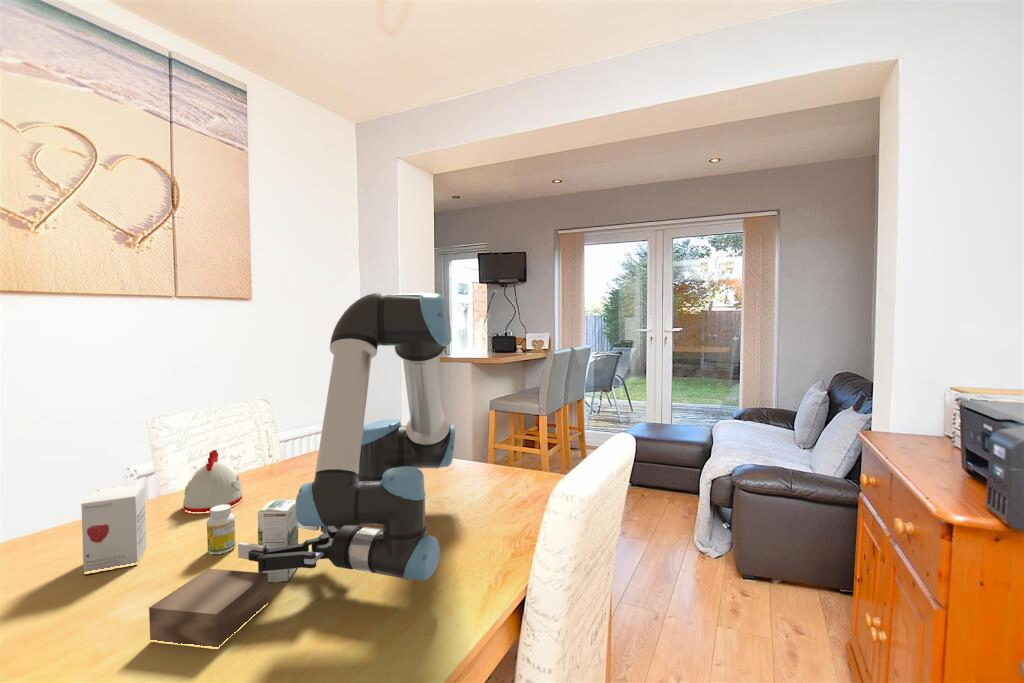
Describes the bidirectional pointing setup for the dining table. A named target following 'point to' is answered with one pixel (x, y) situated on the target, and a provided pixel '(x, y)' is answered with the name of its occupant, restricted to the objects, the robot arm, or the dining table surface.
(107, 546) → the supplement box
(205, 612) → the walnut block
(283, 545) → the syrup box
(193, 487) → the kitchen timer
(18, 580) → the dining table surface
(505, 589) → the dining table surface
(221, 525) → the supplement bottle
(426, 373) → the robot arm
